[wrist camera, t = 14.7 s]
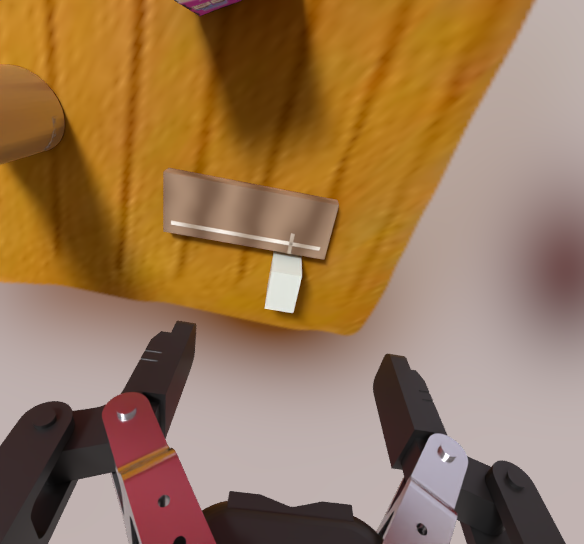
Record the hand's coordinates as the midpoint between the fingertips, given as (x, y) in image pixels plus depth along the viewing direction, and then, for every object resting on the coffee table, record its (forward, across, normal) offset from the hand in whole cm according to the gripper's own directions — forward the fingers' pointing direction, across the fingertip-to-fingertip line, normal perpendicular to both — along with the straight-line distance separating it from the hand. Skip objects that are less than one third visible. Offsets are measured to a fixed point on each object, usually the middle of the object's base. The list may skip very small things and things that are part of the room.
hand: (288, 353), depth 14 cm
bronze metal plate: (+33, +5, +7) cm, 34 cm away
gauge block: (+33, -1, +15) cm, 36 cm away
